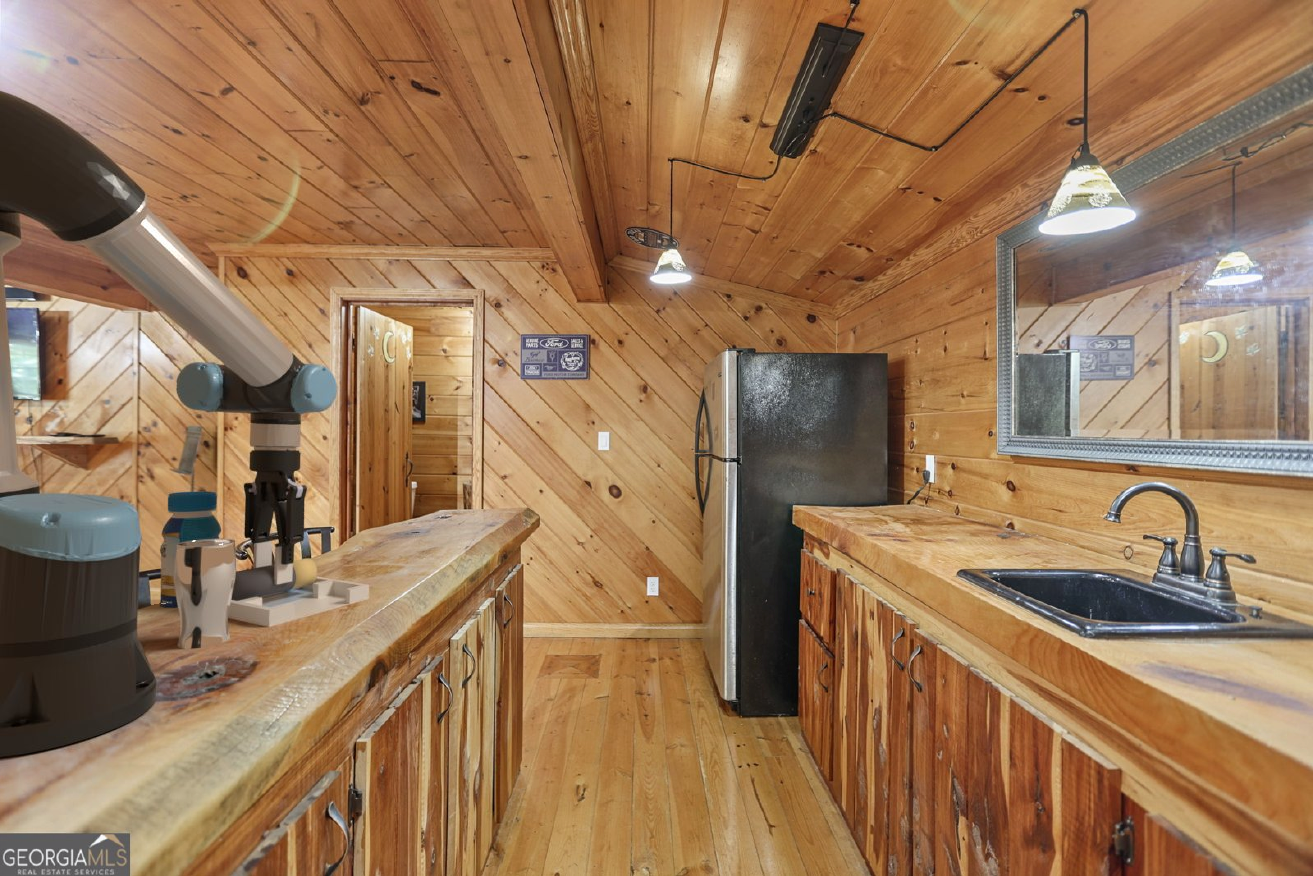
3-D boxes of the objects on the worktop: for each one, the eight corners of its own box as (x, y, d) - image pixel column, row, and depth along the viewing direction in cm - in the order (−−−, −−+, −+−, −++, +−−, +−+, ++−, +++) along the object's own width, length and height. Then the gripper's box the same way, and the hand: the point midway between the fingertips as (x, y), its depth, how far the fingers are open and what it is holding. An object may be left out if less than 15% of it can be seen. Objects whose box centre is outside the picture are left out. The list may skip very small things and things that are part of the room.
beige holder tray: (269, 633, 89) (269, 610, 89) (199, 617, 96) (200, 596, 96) (368, 604, 106) (369, 584, 106) (303, 592, 113) (304, 574, 113)
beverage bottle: (205, 612, 99) (208, 494, 99) (147, 615, 97) (150, 495, 97) (229, 599, 107) (231, 490, 107) (176, 601, 105) (178, 490, 105)
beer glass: (246, 641, 86) (248, 539, 86) (205, 658, 79) (207, 547, 79) (203, 638, 86) (205, 537, 86) (158, 655, 79) (161, 545, 79)
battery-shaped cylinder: (242, 604, 96) (243, 574, 96) (224, 600, 98) (225, 570, 98) (316, 587, 108) (317, 560, 108) (298, 583, 109) (299, 557, 109)
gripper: (330, 449, 103) (327, 582, 102) (264, 447, 110) (261, 571, 109) (289, 450, 96) (285, 591, 95) (221, 447, 103) (217, 579, 103)
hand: (272, 580), depth 102 cm, fingers closed on battery-shaped cylinder, 5 cm apart
